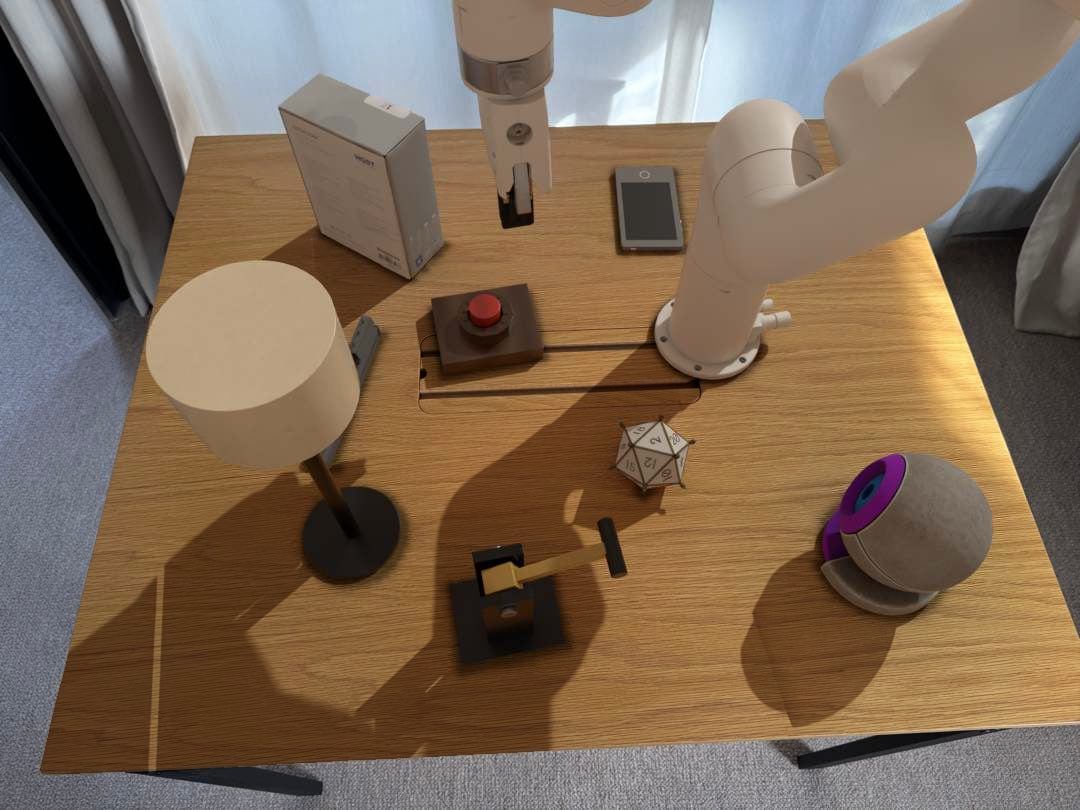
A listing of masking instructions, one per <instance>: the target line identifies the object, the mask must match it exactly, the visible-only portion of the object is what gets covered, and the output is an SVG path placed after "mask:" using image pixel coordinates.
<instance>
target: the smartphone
mask: <svg viewBox="0 0 1080 810" xmlns="http://www.w3.org/2000/svg"><path fill="white" fill-rule="evenodd" d="M674 171H675V170H674V168H673V167H672V166H617V167H615V171H614V180H615V191H616V203H617V213H618V214H617V215H618V225H619V227H618V228H619V237H620V249H622V250H623V251H682V250H683V248H684V245H685V244H684V235H683V227H682V220H681V214H680V208H679V207H680V206H679V200H678V192H677V187H676V179H675V172H674Z"/></svg>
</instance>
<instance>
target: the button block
mask: <svg viewBox="0 0 1080 810" xmlns="http://www.w3.org/2000/svg"><path fill="white" fill-rule="evenodd" d="M482 294H488V295H492V296H494V297H495V298H496V299H497V300H498V301H499V303H500V312H501V316H500V319H499V321H498V322H497V323H496V324H495V325H493V326H491V327H479V326H477V325H475V324H474V323H473V322H472V320H471V318H470V311H469V304H470V302H471V301H472V299H473V298H475V297H476V296H478V295H482ZM430 302H431V308H432V314H433V320H434V325H435V331H436V332H435V333H436V337H437V342H438V343H437V344H438V348H439V355H440V360H441V361H440V362H441V367H442V371H443V375H444V376H447V375H453V374H454V375H455V374H458V373H466V372H470V371H477V370H483V369H487V368H494V367H500V366H506V365H511V364H512V365H513V364H517V363H523V362H529V361H536V360H541V359H544V357H545V355H544V352H545V351H544V350H545V347H544V344H543V339H542V335H541V331H540V327H539V324H538V321H537V317H536V313H535V308H534V305H533V301H532V297H531V294H530V290H529V285H528V283H527V282H525V283H518V284H512V285H507V286H501V287H494V288H489V289H488V288H487V289H481V290H476V291H469V292H463V293H462V292H461V293H457V294H450V295H444V296H438V297H432V298H430Z"/></svg>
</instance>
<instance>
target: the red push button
mask: <svg viewBox="0 0 1080 810" xmlns="http://www.w3.org/2000/svg"><path fill="white" fill-rule="evenodd" d="M469 311H470V318H471V320H472V322H473V323H474V324H475V325H477V326H479V327H491V326H493V325H495V324H496V323H497V322H498V321H499V319H500V316H501V312H500V303H499V301H498V300H497V299H496V298H495V297H494V296H492V295H488V294H482V295H478V296H476V297H475V298H473V299H472V301H471V302H470V304H469Z"/></svg>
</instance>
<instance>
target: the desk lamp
mask: <svg viewBox="0 0 1080 810" xmlns="http://www.w3.org/2000/svg"><path fill="white" fill-rule="evenodd" d="M145 341H146V342H145V360H146V366H147V368H148V371H149V374H150V376H151V378H152V379H153V381H154V382H155V384H156V385H157V387H158V388H159V389H160V390H161V392H162V393H163V394H164V396H165V397H166V398H167V400H168V401H169V402H170V403H171V405H172V406H173V407H174V408H175V410H176V411H177V412H178V413H179V414H180V416H181V417H182V418H183V420H184V421H185V422H186V423H187V425H188V426H189V427H190V429H191V430H192V431H193V432H194V433H195V435H196V436H197V437H198V439H199V440H200V441H201V443H202V444H203V445H204V446H205V447H206V448H207V449H208V450H209V451H210V452H211V453H212V454H213V455H215V457H217V458H219V459H220V460H222V461H224V462H226V463H228V464H230V465H232V466H233V465H234V466H235V467H239V468H244V469H250V470H276V469H282V468H287V467H291V466H293V465H297V464H299V463H302V464H303V465H304V467H305V469H306V470H307V472H308V474H309V476H310V478H311V479H312V481H313V482H314V484H315V486H316V488H317V490H318V491H319V493H320V495H321V496H322V499H321V500H319V501H318V503H317V504H315V506H314V507H313V508H312V509H311V511H310V512H309V514H308V516H307V518H306V520H305V522H304V526H303V530H302V545H303V550H304V552H305V555H306V557H307V559H308V561H309V562H310V563H311V564H312V566H313V567H314V568H315V569H316V570H318V571H319V572H320V573H322V574H323V575H325V576H327V577H328V578H332V579H336V580H341V581H352V580H358V579H362V578H365V577H368V576H371V575H372V574H375V573H376V572H377V571H379V570H380V569H382V568H383V567H384V566H385V565H386V564H388V562H389V561H390V560H391V559H392V557H393V556H394V554H395V553H396V551H397V549H398V547H399V545H400V542H401V538H402V530H403V529H402V520H401V516H400V513H399V511H398V509H397V507H396V505H395V504H394V502H393V501H392V500H391V499H390V498H389V497H388V496H387V495H386V494H384V493H383V492H382V491H379V490H377V489H374V488H372V487H367V486H348V487H343V488H339V486H338V484H337V482H336V479H334V476H333V474H332V473H331V471H330V469H329V466H327V465H328V464H327V465H326V463H325V461H324V459H323V457H322V455H321V453H320V452H321V451H323V450H324V449H325V448H327V447H328V446H329V445H330V444H332V443H333V442H334V441H335V440H336V439H337V438H338V437H339V436H340V435H341V434H342V432H343V433H344V432H345V430H346V429H347V427H348V426H349V424H350V423H351V421H352V419H353V417H354V415H355V413H356V410H357V409H358V408H357V407H358V404H359V400H360V394H361V387H360V380H359V375H358V371H357V369H356V366H355V363H354V360H353V357H352V355H351V352H350V349H349V344H348V341H347V339H346V336H345V332H344V330H343V327H342V324H341V322H340V319H339V316H338V313H337V310H336V308H335V305H334V302H333V299H332V297H331V295H330V294H329V292H328V291H327V289H326V288H325V287H324V285H323V284H322V283H321V282H320V281H319V280H318V279H316V277H314V276H313V275H311V274H310V273H308V272H306V271H305V270H303V269H300V268H299V267H297V266H295V265H291V264H288V263H284V262H279V261H276V260H275V261H273V260H244V261H237V262H232V263H228V264H225V265H221V266H217V267H214V268H213V269H209V270H208V271H205V272H204V273H202V274H200V275H197V276H196V277H194V278H192V279H191V280H189V281H187V282H185V284H184V285H182V286H180V287H179V288H178V289H177V290H176V291H174V293H173V294H171V295H170V296H169V297H168V298H167V299H166V301H165V302H164V303H163V304H162V305H161V306H160V308H159V309H158V311H157V313H156V314H155V316H154V317H153V320H152V322H151V323H150V326H149V329H148V332H147V336H146V339H145ZM342 435H343V434H342Z"/></svg>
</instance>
